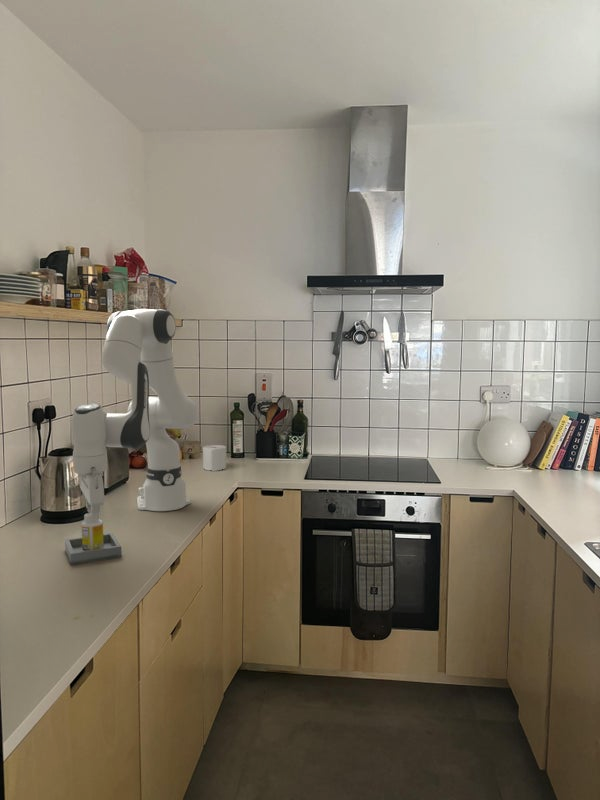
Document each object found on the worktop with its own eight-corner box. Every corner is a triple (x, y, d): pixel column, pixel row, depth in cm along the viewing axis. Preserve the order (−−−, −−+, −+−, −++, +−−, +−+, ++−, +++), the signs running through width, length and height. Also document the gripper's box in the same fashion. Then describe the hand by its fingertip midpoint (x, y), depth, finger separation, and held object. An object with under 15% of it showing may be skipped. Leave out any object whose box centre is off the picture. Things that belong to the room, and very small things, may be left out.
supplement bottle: (105, 546, 170) (104, 511, 169) (101, 553, 165) (99, 516, 164) (85, 547, 170) (84, 511, 169) (80, 554, 164) (78, 517, 163)
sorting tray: (65, 549, 170) (64, 539, 170) (112, 542, 176) (112, 532, 176) (70, 565, 159) (70, 554, 158) (121, 557, 165) (121, 546, 164)
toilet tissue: (219, 465, 285) (219, 444, 284) (231, 469, 276) (231, 447, 275) (199, 467, 279) (198, 446, 278) (210, 472, 270) (210, 450, 269)
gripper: (109, 470, 157) (111, 522, 159) (96, 456, 175) (98, 502, 177) (83, 473, 154) (86, 525, 156) (73, 458, 172) (75, 505, 174)
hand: (92, 513), depth 167 cm, fingers open, 8 cm apart
